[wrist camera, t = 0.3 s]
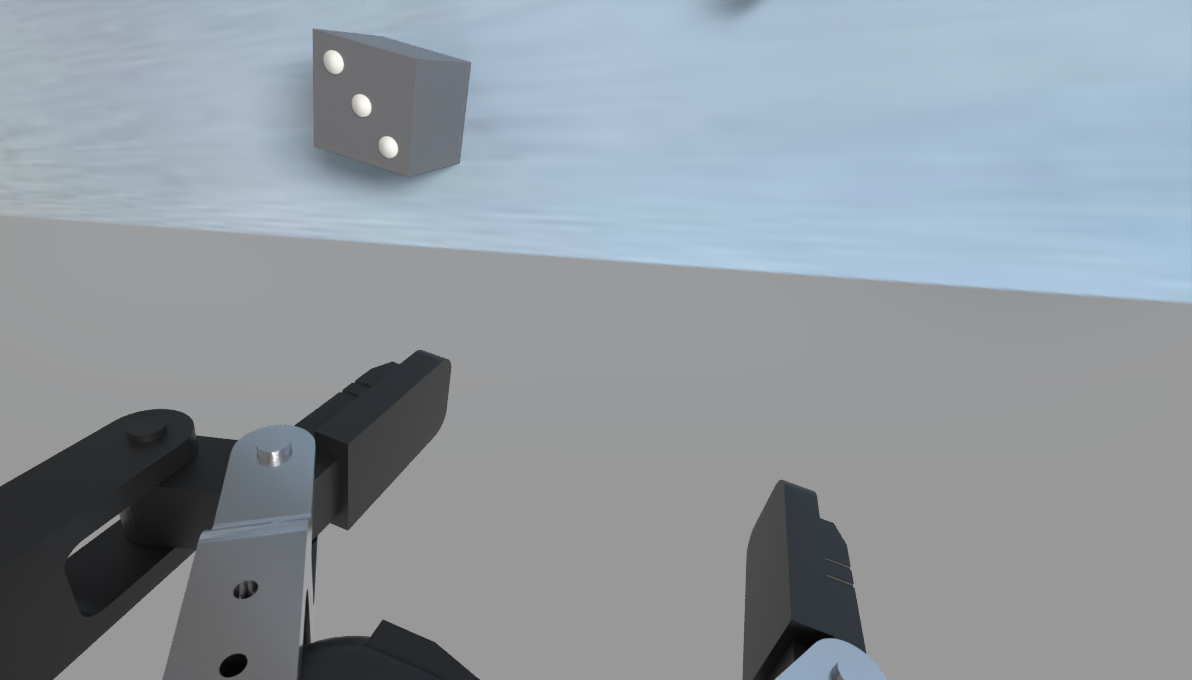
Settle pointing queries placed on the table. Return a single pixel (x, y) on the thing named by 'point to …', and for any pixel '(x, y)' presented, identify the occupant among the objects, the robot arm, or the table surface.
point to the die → (388, 102)
